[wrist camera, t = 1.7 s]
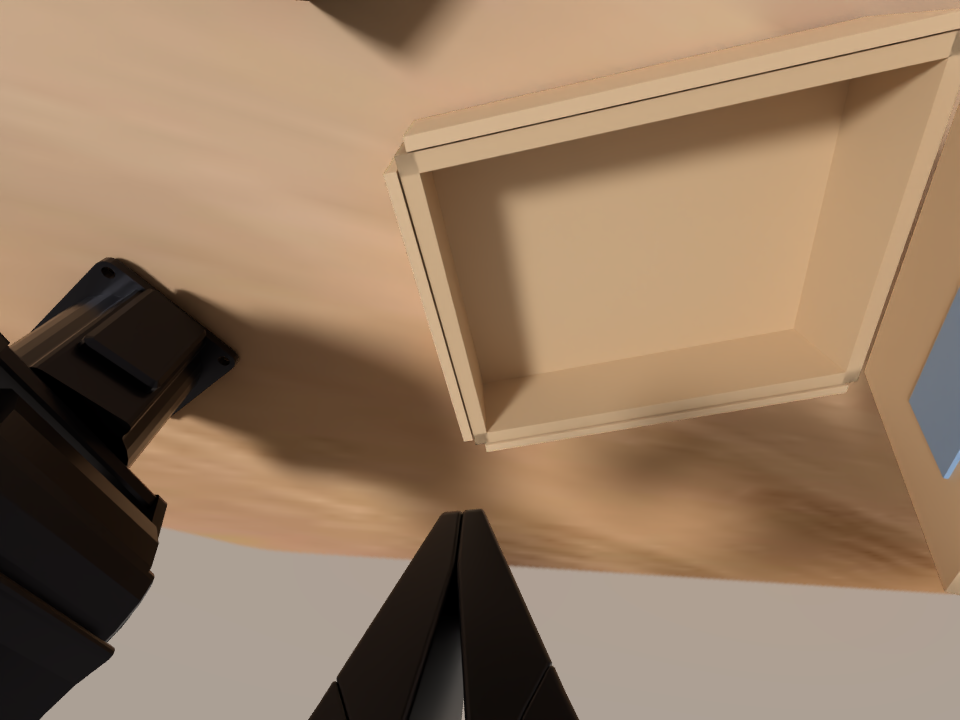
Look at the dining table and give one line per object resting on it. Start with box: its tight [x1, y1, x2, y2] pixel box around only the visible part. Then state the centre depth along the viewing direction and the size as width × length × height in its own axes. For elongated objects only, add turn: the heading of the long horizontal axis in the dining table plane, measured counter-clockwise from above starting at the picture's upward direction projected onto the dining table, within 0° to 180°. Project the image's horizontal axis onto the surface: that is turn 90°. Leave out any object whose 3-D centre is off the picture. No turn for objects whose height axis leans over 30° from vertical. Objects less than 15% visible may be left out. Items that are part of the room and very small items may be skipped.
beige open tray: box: [383, 8, 960, 452], centre depth 18 cm, size 16×13×4 cm
